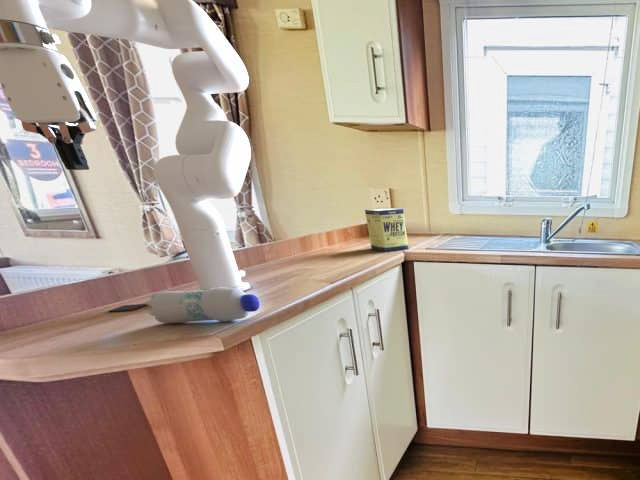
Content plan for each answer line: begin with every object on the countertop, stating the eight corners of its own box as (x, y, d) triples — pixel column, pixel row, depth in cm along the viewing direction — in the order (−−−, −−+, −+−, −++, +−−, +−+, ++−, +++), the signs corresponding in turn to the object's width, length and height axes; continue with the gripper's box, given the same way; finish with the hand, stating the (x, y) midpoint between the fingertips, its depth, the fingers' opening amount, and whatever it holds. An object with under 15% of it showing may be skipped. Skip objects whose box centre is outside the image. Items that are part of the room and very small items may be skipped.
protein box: (385, 251, 170) (379, 210, 164) (370, 248, 181) (364, 209, 175) (409, 248, 176) (404, 208, 169) (393, 245, 187) (387, 208, 180)
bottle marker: (125, 306, 99) (124, 305, 99) (147, 305, 100) (147, 303, 100) (108, 312, 95) (108, 310, 95) (132, 310, 95) (131, 309, 95)
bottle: (173, 299, 87) (268, 294, 87) (169, 329, 86) (265, 324, 86) (145, 284, 81) (247, 278, 80) (139, 317, 79) (244, 311, 79)
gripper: (91, 48, 72) (136, 168, 80) (-6, 49, 71) (50, 171, 79) (54, 34, 65) (108, 167, 73) (-54, 35, 64) (13, 170, 72)
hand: (78, 169), depth 76 cm, fingers closed
